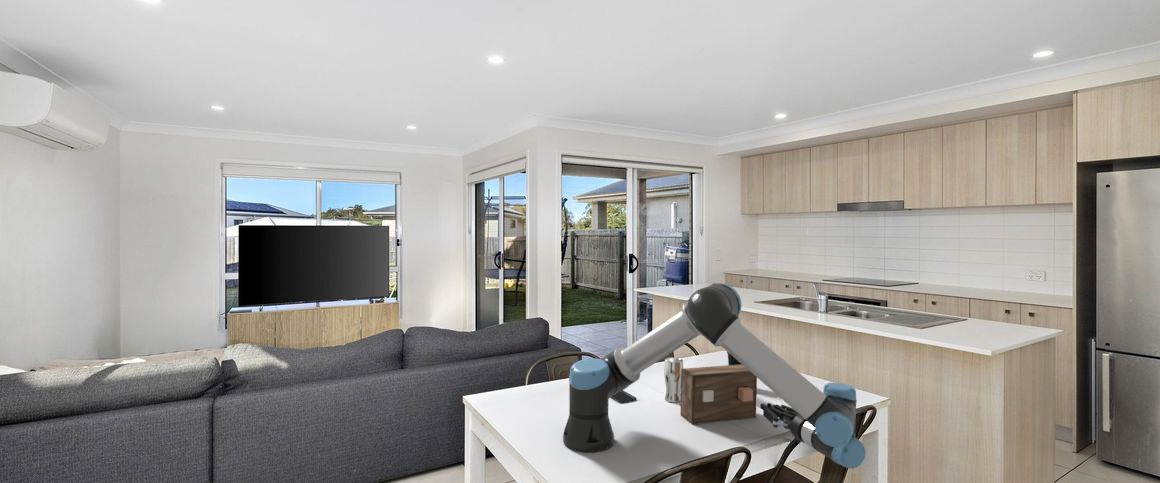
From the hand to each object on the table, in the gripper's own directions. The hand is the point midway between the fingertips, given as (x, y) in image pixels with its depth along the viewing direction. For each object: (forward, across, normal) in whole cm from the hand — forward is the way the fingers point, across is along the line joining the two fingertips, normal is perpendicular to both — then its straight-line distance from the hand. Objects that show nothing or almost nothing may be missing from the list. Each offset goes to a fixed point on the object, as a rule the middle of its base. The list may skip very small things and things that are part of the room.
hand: (758, 401), depth 162 cm
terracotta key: (+8, 0, -2) cm, 9 cm away
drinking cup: (+40, +18, -9) cm, 45 cm away
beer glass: (+31, -14, -9) cm, 36 cm away
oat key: (+11, -13, -2) cm, 17 cm away
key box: (+13, -7, -9) cm, 17 cm away
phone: (+41, -33, -10) cm, 53 cm away
